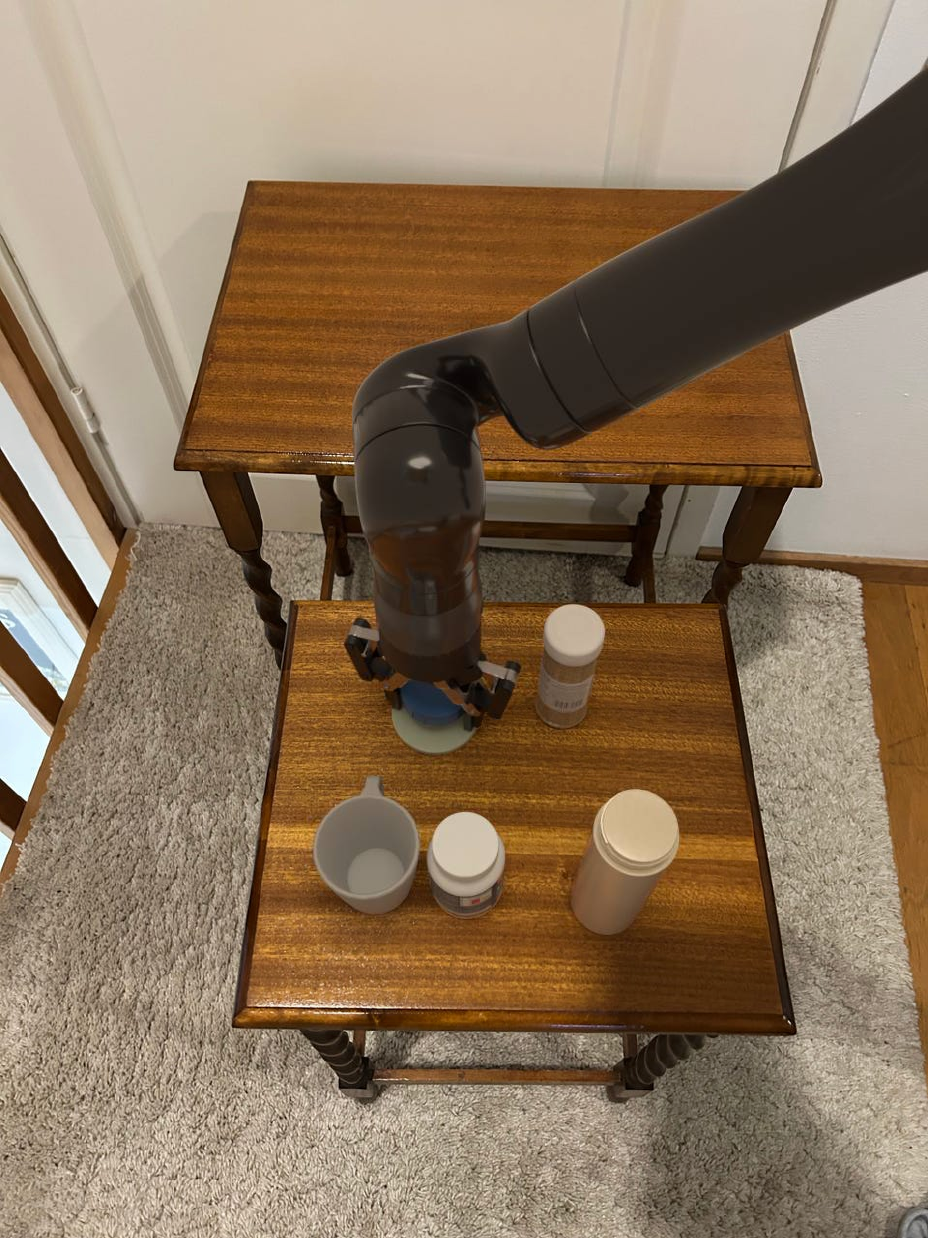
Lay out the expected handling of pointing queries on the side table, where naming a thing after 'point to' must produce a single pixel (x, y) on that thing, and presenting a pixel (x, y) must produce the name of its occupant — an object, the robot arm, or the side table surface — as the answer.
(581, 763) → the side table surface
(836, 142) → the robot arm
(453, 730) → the coaster
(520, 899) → the side table surface
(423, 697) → the lid
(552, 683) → the sprinkles bottle
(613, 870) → the beige plastic cylinder
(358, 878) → the cup
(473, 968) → the side table surface
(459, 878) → the pill bottle
